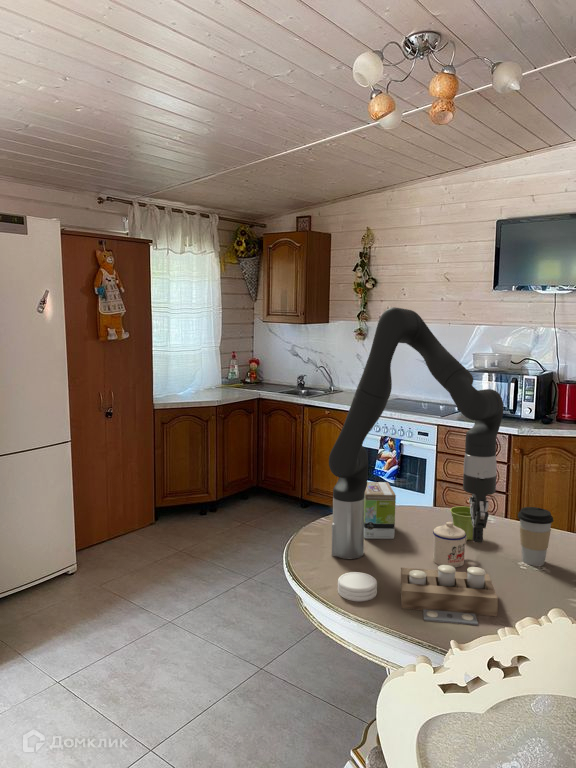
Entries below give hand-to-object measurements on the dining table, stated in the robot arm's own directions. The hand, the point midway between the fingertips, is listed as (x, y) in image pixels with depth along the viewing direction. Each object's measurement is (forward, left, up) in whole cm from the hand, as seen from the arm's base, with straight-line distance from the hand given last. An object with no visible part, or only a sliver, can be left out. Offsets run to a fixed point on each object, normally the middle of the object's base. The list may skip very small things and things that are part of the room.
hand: (477, 541), depth 138 cm
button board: (-7, 0, -16) cm, 17 cm away
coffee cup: (+20, +27, -16) cm, 37 cm away
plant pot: (+3, +43, -16) cm, 46 cm away
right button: (0, 0, -12) cm, 12 cm away
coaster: (-29, 0, -16) cm, 33 cm away
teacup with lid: (-3, +24, -16) cm, 29 cm away
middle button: (-7, 0, -11) cm, 13 cm away
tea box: (-25, +44, -16) cm, 53 cm away
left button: (-14, 0, -13) cm, 19 cm away
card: (-7, -9, -16) cm, 19 cm away
